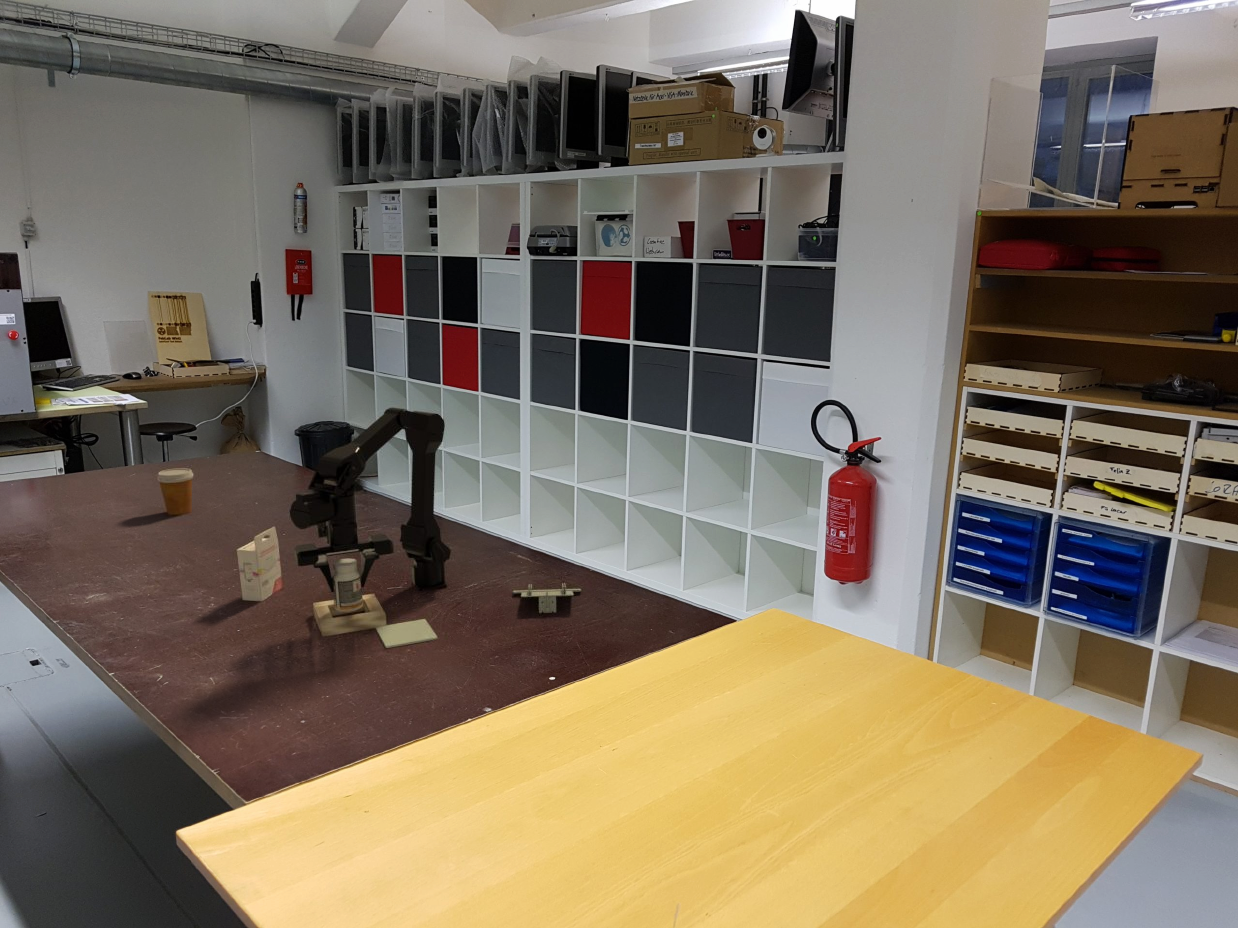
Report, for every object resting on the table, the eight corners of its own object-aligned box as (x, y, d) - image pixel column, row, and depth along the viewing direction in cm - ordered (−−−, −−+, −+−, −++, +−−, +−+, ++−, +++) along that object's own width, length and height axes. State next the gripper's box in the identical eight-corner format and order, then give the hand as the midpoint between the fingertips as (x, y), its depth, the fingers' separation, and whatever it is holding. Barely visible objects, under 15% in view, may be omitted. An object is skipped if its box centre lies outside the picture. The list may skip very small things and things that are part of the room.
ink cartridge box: (263, 586, 210) (257, 524, 207) (283, 588, 209) (277, 525, 206) (240, 600, 202) (234, 535, 199) (261, 602, 201) (255, 537, 198)
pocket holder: (374, 604, 200) (373, 593, 199) (386, 625, 189) (385, 614, 188) (313, 614, 195) (313, 602, 194) (322, 636, 184) (321, 624, 183)
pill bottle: (368, 604, 193) (365, 559, 190) (352, 614, 187) (348, 568, 185) (345, 601, 195) (341, 556, 192) (328, 611, 189) (324, 565, 187)
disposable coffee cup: (204, 510, 269) (200, 470, 266) (173, 518, 261) (169, 477, 258) (184, 505, 274) (180, 466, 271) (154, 513, 266) (149, 472, 263)
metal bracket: (582, 586, 195) (511, 588, 194) (583, 613, 195) (511, 616, 194) (580, 580, 210) (513, 582, 208) (580, 606, 209) (513, 608, 208)
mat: (425, 620, 191) (425, 618, 191) (437, 638, 182) (437, 637, 182) (375, 628, 187) (375, 627, 187) (386, 648, 178) (386, 646, 178)
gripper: (380, 500, 197) (385, 570, 201) (288, 511, 190) (294, 583, 193) (391, 514, 187) (396, 587, 191) (294, 526, 180) (301, 601, 183)
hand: (347, 589), depth 190 cm, fingers closed on pill bottle, 6 cm apart
